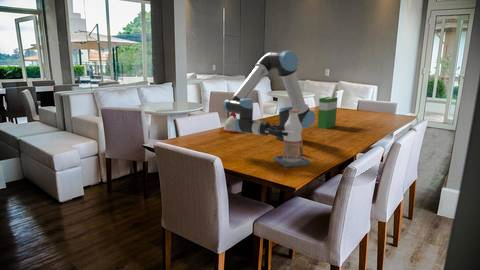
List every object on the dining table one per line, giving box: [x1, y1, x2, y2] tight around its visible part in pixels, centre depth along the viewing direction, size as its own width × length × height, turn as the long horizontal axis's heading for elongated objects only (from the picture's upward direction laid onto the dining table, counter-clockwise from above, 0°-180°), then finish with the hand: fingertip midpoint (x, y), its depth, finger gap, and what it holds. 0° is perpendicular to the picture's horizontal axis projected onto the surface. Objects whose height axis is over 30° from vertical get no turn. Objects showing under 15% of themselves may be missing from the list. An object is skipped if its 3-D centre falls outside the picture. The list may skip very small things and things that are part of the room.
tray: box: [273, 154, 311, 169], centre depth 178 cm, size 15×15×2 cm
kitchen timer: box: [223, 113, 239, 134], centre depth 252 cm, size 14×14×15 cm
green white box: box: [317, 96, 338, 130], centre depth 270 cm, size 18×7×24 cm, turn 139°
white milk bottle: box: [282, 109, 303, 163], centre depth 175 cm, size 9×9×28 cm
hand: (298, 132), depth 173 cm, fingers open, 13 cm apart
